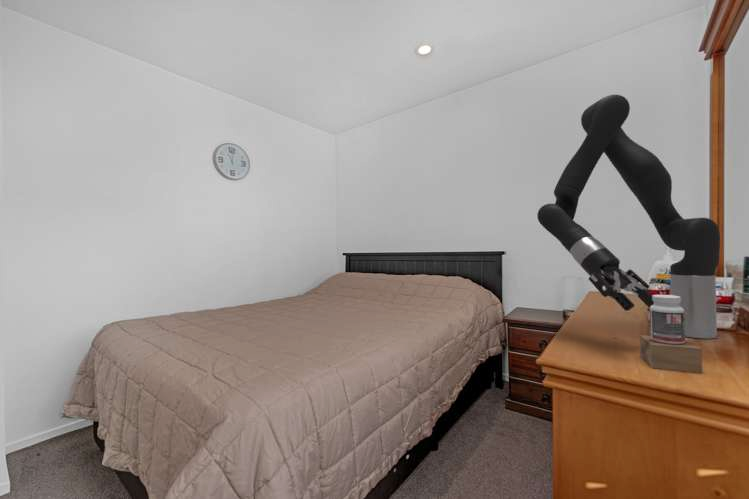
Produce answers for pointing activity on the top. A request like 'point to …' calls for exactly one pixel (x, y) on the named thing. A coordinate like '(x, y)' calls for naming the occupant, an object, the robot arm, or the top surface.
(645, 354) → the walnut block
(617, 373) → the top surface
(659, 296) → the pill bottle
